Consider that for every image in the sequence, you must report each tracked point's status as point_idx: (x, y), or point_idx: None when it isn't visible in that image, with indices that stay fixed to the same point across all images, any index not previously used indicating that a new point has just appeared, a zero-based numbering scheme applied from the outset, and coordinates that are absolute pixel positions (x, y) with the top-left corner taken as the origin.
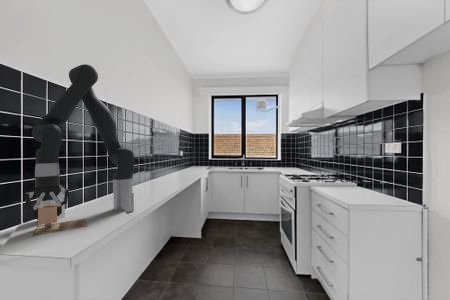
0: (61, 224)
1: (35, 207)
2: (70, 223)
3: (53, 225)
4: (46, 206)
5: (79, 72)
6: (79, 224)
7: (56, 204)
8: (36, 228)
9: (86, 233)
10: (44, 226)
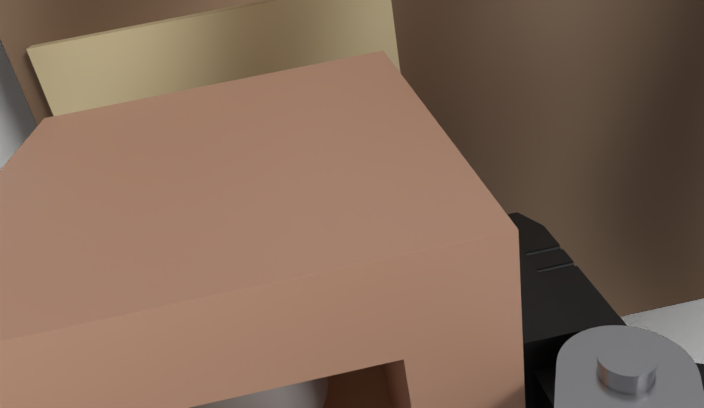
0: (418, 4)
1: None
2: (564, 8)
3: (300, 64)
4: (140, 401)
5: None
6: (688, 148)
7: (480, 271)
8: (21, 74)
9: (696, 362)
10: (147, 60)
